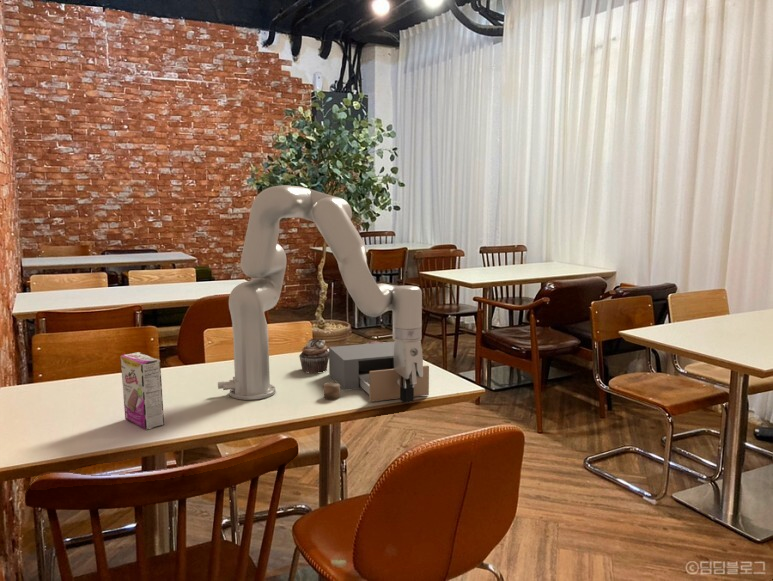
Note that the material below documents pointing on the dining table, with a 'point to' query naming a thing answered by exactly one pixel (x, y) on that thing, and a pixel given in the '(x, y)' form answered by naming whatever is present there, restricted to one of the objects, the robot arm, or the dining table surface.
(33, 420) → the dining table surface
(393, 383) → the brown drawer
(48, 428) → the dining table surface
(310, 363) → the cupcake
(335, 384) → the brown rounded piece
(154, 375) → the candy bar box
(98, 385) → the dining table surface
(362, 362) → the grey cabinet
